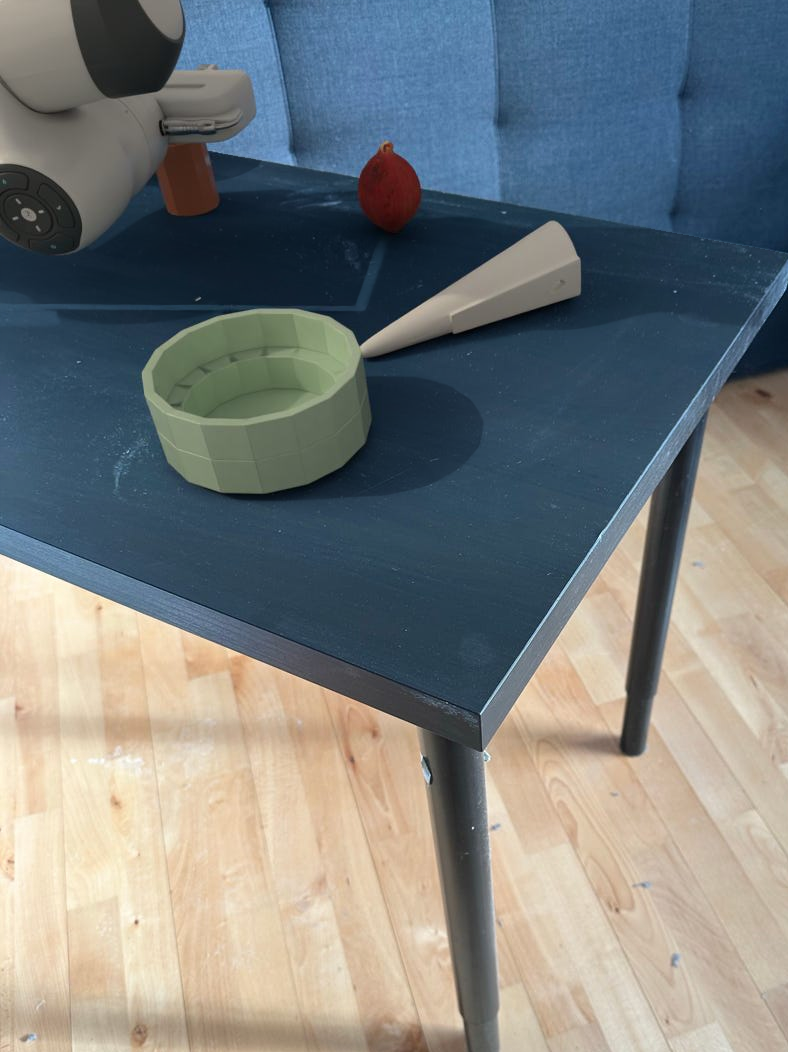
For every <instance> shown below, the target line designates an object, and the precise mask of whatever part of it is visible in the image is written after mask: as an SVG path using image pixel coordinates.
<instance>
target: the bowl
mask: <svg viewBox="0 0 788 1052" xmlns="http://www.w3.org/2000/svg"><path fill="white" fill-rule="evenodd" d="M364 362H365V361H364V358H363V356H362V351H361V349H360V345H359V342H358V340H357V338H356V335H355V333H354V331H352V330H351V329H349V328H348V327H346V326H345V325H343V324H342V323H340V322H339V321H337V320H335V319H334V318H333V317H331V316H328V315H324V314H320V313H316V312H311V311H308V310H304V309H299V308H254V309H253V308H252V309H249V310H248V309H247V310H243V311H238V312H237V311H236V312H232V313H227V314H220V315H217V316H215V317H211V318H209V319H207V320H206V319H205V320H204V321H201V322H200V323H197V324H194V325H191V326H189V327H187V328H183V329H182V330H180V331H179V332H178V333H176V334H175V335H173V336H172V337H171V338H169V339H167V340H166V341H164V343H163V344H161V345H160V346H158V347H157V348H156V349H155V350H154V351H153V353H152V354H151V356H150V358H149V359H148V361H147V363H146V364H145V366H144V367H143V369H142V371H141V378H142V380H141V381H142V387H143V395H144V398H145V401H146V404H147V406H148V409H149V412H150V415H151V418H152V421H153V423H154V427H155V430H156V432H157V436H158V438H159V441H160V444H161V446H162V450H163V453H164V456H165V458H166V461H167V463H168V464H169V465H170V466H171V467H172V468H173V469H174V470H175V471H176V472H177V473H178V474H180V475H181V476H182V477H183V478H184V479H185V481H187V482H188V483H191V484H194V485H196V486H199V487H203V488H206V489H209V490H212V491H215V492H218V493H221V494H222V493H223V494H253V495H254V494H255V495H258V494H259V495H264V494H270V493H274V492H279V491H284V490H288V489H293V488H297V487H301V486H305V485H309V484H311V483H313V482H315V481H317V480H319V479H321V478H323V477H325V476H327V475H330V474H331V473H334V472H335V471H337V470H338V469H341V468H342V467H343V466H344V465H345V464H346V463H347V462H349V461H350V459H352V458H353V456H354V455H355V454H356V453H357V452H358V451H359V450H360V449H361V448H362V447H364V445H365V444H366V442H367V439H368V434H369V431H370V427H371V425H372V420H373V418H372V411H371V404H370V398H369V392H368V384H367V378H366V377H367V376H366V370H365V364H364Z"/></svg>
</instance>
